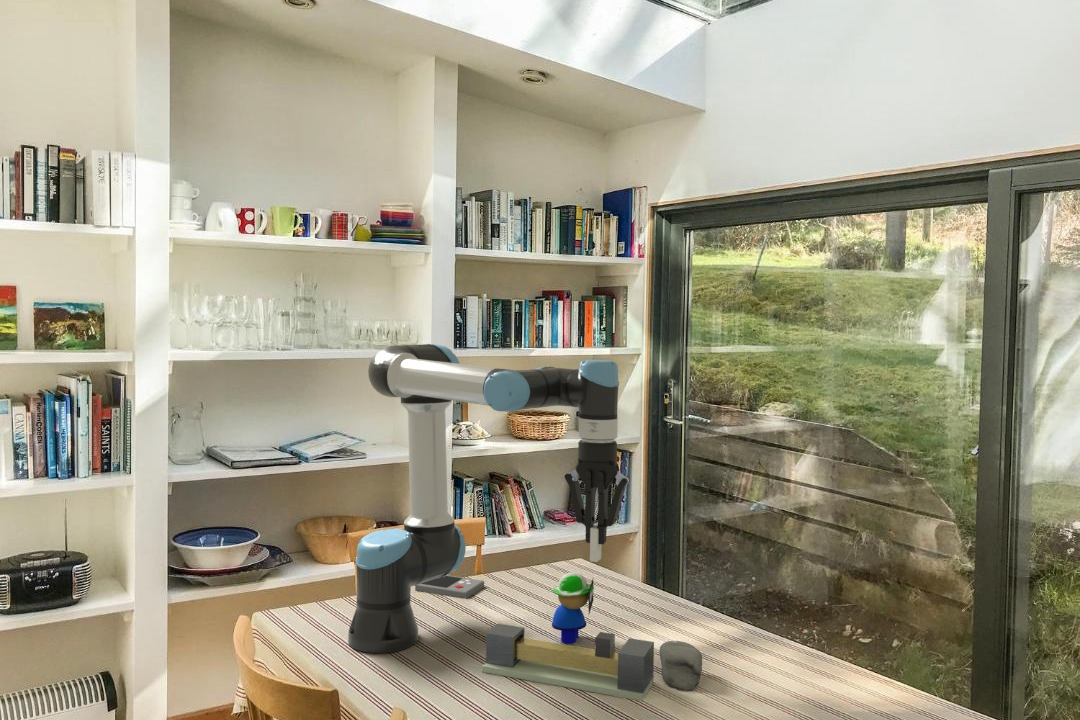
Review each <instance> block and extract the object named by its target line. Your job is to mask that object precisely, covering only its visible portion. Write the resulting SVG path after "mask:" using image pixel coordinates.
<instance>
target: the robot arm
mask: <svg viewBox="0 0 1080 720" xmlns="http://www.w3.org/2000/svg"><path fill="white" fill-rule="evenodd" d="M370 360H371V361H370V363H369V365H368V368H367V369H368V370H367V371H368V373H367V374H368V381H369V382H370V384H371V386H372V387H373V389H374V390H375V391H376V392H377V393H378V394H380V395H382V396H384V397H388V398H400V404H401V405H402V407H403V408H404V409H406V411H407V427H408V429H407V430H408V431H407V433H408V435H407V436H408V437H407V438H408V466H409V468H408V470H409V474H408V475H409V509H410V511H409V512H410V514H409V516H407V518H405V520H404V521H403V529H402V528H388V529H386V530H385V529H380V530H375V531H372V532H370V533H368V534H366V535H365V536H363V537H362V538H361V539H360V540H359V541H358V544H357V548H356V557H355V564H356V607H355V610H354V614H353V616H352V619H351V622H350V625H349V629H348V635H347V636H348V637H347V638H348V639H347V640H348V642H347V643H348V645H349V646H350V647H351V648H352V649H354V650H356V651H360V652H364V653H371V654H385V653H396V652H399V651H403V650H405V649H408V648H411V647H412V646H414V645H415V644H416V643H417V642H418V640H419V626H418V624H417V621H416V617H415V615H414V612H413V608H412V604H411V591H412V590H411V589H412V588H411V587H415V585H417V584H420V583H424V582H427V581H430V580H433V579H438V578H442V577H445V576H446V575H450V574H453V573H454V572H456V571H457V570H458V569H459V568H460V566H461V565H462V563H463V561H464V559H465V555H466V549H467V548H466V547H467V546H466V539H465V537H464V535H463V534H462V530H461V529H460V527H458V525H456V524H455V518H454V517H453V516H452V515H451V514H450V513H449V511H448V505H449V504H448V474H447V467H448V466H447V465H448V464H447V434H446V433H447V431H446V430H447V427H446V425H447V424H446V422H447V421H446V410H447V408H448V407H449V406H450V405H451V404H452V403H453V402H452V401H454V402H460V403H461V402H462V403H467V404H475V405H482V406H486V407H487V406H488V407H490V408H491V409H492V410H494V411H496V412H502V413H503V412H507V413H509V412H510V413H512V412H513V413H514V412H516V411H523V410H529V409H530V410H531V409H538V408H547V407H557V406H559V407H560V406H561V407H572V408H578V437H579V438H580V439H579V440H578V444H577V445H578V448H577V450H578V453H577V459H578V460H577V464H575V465H576V466H575V469H574V470H572V471H570V472H567V473H565V475H564V479H565V482H567V484H568V486H569V491H570V496H571V501H572V506H573V509H574V510H573V511H574V515H575V520H576V522H577V524H578V523H579V524H582V525H583V526H585V543H586V544H589V562H592V563H593V562H594V563H597V562H599V561H600V560H601V559H602V546H603V545H605V544H606V542H607V529H608V527H612V526H614V525H615V524H616V523H617V520H618V516H619V513H620V509H621V505H622V501H623V498H624V493H625V489H626V487H627V486H628V485H629V483H630V482H631V478H630V477H629V476H625V475H624V474H622V472H620V468H619V465H618V463H617V461H618V442H617V441H616V439H617V438H618V419H619V418H618V401H619V399H618V398H619V386H620V382H619V366H618V364H617V362H616V361H614V360H611V359H610V360H607V359H584V360H581V361H580V363H579V368H576V369H574V368H562V367H554V366H540V367H536V368H534V369H522V370H521V369H519V370H518V369H507V368H499V367H498V368H497V367H490V366H482V365H473V364H463V363H460V360H459V358H458V357H457V356H456V353H454V352H453V350H452V349H450V348H449V347H447V346H446V345H442V344H431V343H426V344H423V343H422V344H406V345H405V344H401V345H399V344H395V345H389V346H386V347H383V348H382V349H380V350H378V351H377V352H376V353H375V354H374V355H373V357H372V358H371V359H370ZM579 478H580V479H581V481H582V483H583V484H584V492H585V503H584V501H583V496H582V491H581V487H580V486H581V485H580V483H579V480H580V479H579ZM615 479H616V480H615ZM614 480H615V485H616V487H615V490H614V494H613V497H612V501H611V506H610V509H608V504H609V503H608V502H609V500H608V499H609V491H610V490H609V488H610V487H609V486H610V485H611V484H612V483H613V481H614ZM596 491H597V496H598V497H597V498H598V499H597V521H596V519H595V518H596V517H595V515H596ZM608 510H609V513H608ZM596 522H597V524H596Z"/></svg>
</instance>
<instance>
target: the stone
mask: <svg viewBox="0 0 1080 720" xmlns="http://www.w3.org/2000/svg"><path fill="white" fill-rule="evenodd" d="M658 650H659V652H658V653H659V658H660V663H661V677H662V679H663V681H664V683H665V684H666V685H667V686H668V687H669V688H673V689H675V690H676V691H678V692H679V691H680V692H681V691H682V692H693V691H694V690H695V689H696V688H697V687H698V685H699V683H700V680H701V678H702V677H701V676H702V671H703V654H702V652H701V650H699V649H698V648H696V647H695V646H694V645H693V644H690V643H689V642H685V641H679V640H668V641H665V642H663V643H661V645H660V646H659V649H658Z"/></svg>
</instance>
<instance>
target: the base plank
mask: <svg viewBox="0 0 1080 720" xmlns="http://www.w3.org/2000/svg"><path fill="white" fill-rule="evenodd" d="M481 667H482V673H487V674H491V675H492V674H493V675H497V676H503V677H510V678H513V679H519V680H524V681H526V680H527V681H530V682H531V681H532V682H537V683H541V684H547V685H553V686H557V687H564V688H570V689H575V690H580V691H585V692H592V693H596V694H597V693H598V694H603V695H608V696H612V697H613V696H614V697H619V698H625V699H629V700H635V701H641V702H643V701H644V699H645V697H646V696H647V694H648V692H649V691H650V689H651V687H652V686H653V684H654V682H655V676H654V675H653V678H652V680H651V682H650V683H649V685H648V686H647V688H646V690H645V691H644V693H643V694H642V693H637V692H631V691H626V690H620V689H617V685H618V676H613V675H607V674H602V673H596V672H590V671H584V670H578V669H573V668H567V667H561V666H555V665H550V664H544V663H538V662H532V661H526V660H521V661H520V662H519V663H518V664H516V665H515V666H514V667H513V668H511V667H505V666H500V665H494V664H488V663H486V662H485V663H484V664H483V665H482V666H481Z"/></svg>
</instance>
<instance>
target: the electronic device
mask: <svg viewBox="0 0 1080 720" xmlns="http://www.w3.org/2000/svg"><path fill="white" fill-rule="evenodd" d="M483 588H485V581H484V580H481V579H477V578H476V579H474V578H467V577H461V576H455V575H450V574H448V575H446V576H445V577H442V578H438V579H433V580H430V581H427V582H424V583H420V584H417V585H414V591H415V592H422V593H429V594H433V595H434V594H435V595H438V596H440V595H441V596H447V597H454V598H459V599H468V598H469V597H471V596H472V595H474V594H476V593H477V592H478V591H480V590H482V589H483Z"/></svg>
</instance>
